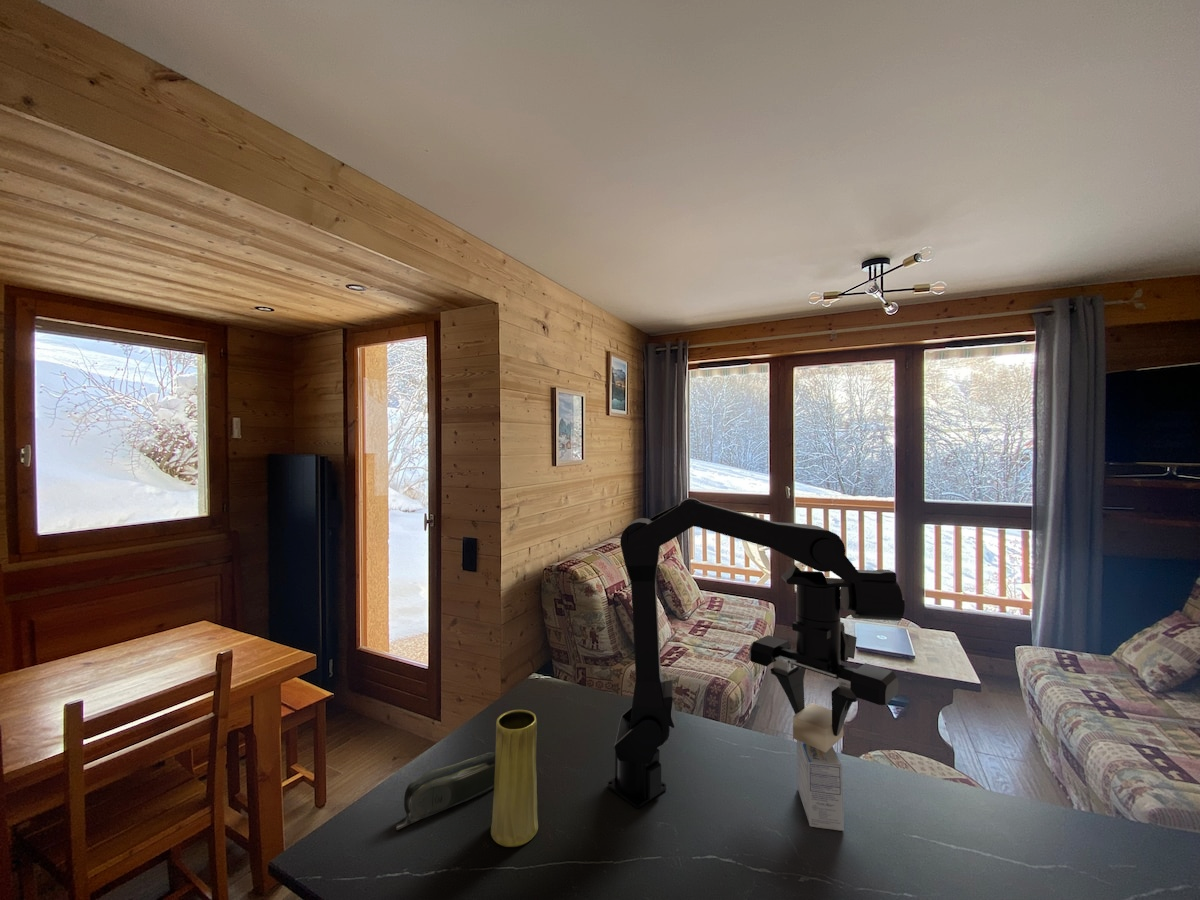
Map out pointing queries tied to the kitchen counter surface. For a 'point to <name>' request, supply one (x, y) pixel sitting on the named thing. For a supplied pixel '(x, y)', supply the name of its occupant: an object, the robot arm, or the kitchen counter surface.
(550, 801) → the kitchen counter surface
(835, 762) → the medicine box
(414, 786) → the stapler
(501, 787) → the vase
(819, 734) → the beech block
